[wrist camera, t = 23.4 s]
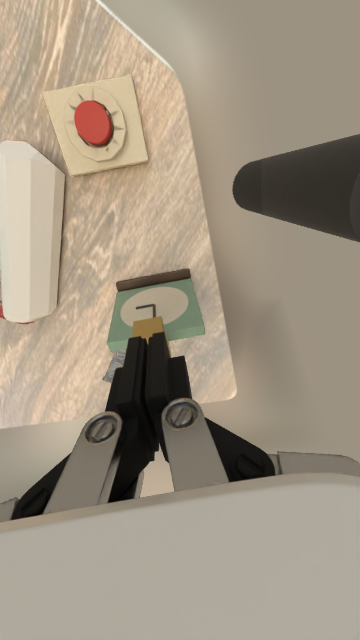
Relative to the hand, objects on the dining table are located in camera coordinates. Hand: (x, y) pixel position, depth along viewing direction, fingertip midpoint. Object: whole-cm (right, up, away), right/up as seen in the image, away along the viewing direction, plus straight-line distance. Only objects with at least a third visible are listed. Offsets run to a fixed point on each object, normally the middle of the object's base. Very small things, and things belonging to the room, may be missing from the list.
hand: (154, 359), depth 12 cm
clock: (-2, +1, +21) cm, 21 cm away
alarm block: (-8, +25, +19) cm, 33 cm away
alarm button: (-8, +24, +16) cm, 29 cm away
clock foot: (-3, +9, +28) cm, 30 cm away
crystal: (-20, +14, +24) cm, 34 cm away
